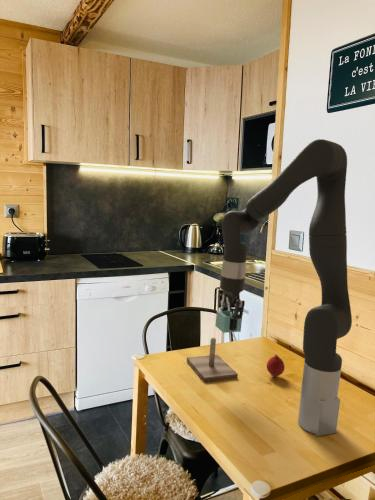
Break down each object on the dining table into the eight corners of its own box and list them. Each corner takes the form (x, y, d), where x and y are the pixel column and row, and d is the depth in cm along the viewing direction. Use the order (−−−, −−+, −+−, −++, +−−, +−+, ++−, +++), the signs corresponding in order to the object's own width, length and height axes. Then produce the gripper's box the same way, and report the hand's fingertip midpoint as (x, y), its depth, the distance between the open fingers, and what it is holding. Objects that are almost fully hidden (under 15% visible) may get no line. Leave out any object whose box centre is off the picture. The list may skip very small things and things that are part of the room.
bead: (240, 331, 127) (242, 316, 126) (223, 332, 125) (224, 317, 124) (232, 324, 133) (233, 310, 132) (215, 325, 130) (216, 310, 130)
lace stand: (237, 378, 134) (240, 345, 132) (204, 382, 129) (206, 348, 128) (217, 358, 148) (219, 328, 147) (186, 361, 144) (188, 330, 142)
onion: (282, 373, 139) (284, 351, 138) (284, 381, 133) (286, 358, 132) (265, 372, 139) (267, 350, 138) (266, 379, 134) (268, 356, 133)
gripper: (255, 280, 121) (249, 334, 123) (233, 269, 134) (228, 318, 137) (232, 280, 118) (227, 335, 121) (212, 269, 131) (208, 319, 134)
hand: (228, 326), depth 129 cm, fingers closed on bead, 6 cm apart
